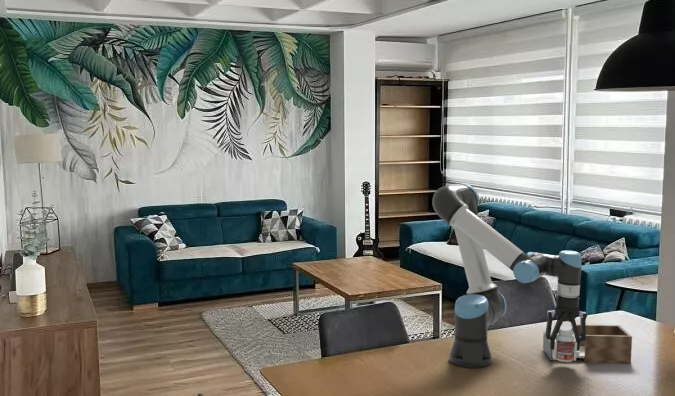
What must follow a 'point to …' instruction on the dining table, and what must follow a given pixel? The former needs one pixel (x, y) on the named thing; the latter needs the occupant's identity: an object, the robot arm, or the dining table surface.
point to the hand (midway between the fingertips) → (563, 358)
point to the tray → (549, 352)
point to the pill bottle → (565, 344)
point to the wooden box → (606, 344)
